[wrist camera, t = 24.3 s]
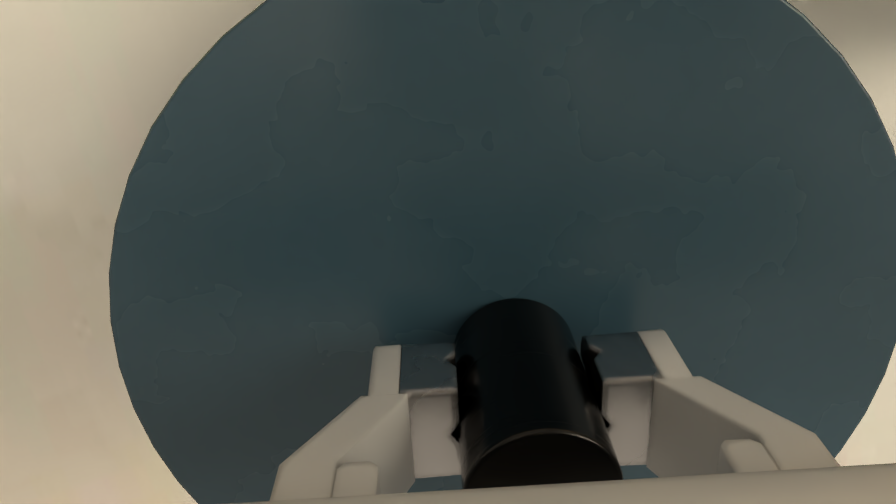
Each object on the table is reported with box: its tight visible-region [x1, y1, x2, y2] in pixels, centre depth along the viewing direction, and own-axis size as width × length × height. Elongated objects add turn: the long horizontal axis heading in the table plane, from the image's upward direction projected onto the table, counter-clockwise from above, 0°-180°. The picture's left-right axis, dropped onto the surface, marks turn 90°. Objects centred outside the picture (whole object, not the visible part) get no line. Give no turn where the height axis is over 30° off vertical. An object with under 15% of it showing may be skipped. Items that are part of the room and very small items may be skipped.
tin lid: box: [109, 0, 896, 504], centre depth 13 cm, size 16×16×5 cm
